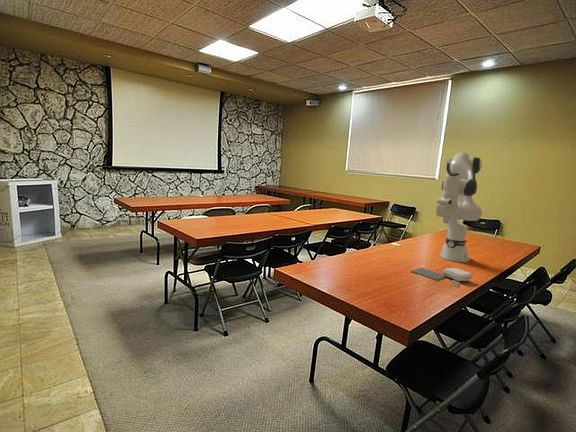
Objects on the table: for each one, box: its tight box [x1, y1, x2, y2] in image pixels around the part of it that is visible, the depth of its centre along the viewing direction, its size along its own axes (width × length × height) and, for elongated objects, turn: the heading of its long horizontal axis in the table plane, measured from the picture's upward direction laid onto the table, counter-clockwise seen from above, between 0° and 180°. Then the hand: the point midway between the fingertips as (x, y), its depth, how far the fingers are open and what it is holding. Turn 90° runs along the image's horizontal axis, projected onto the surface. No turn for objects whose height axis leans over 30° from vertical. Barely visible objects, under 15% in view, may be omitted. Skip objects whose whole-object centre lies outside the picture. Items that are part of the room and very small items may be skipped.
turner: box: [449, 279, 461, 288], centre depth 179 cm, size 16×4×1 cm, turn 145°
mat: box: [410, 267, 448, 281], centre depth 189 cm, size 12×16×1 cm
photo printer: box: [442, 267, 473, 282], centre depth 183 cm, size 10×4×12 cm
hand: (445, 223), depth 194 cm, fingers closed
